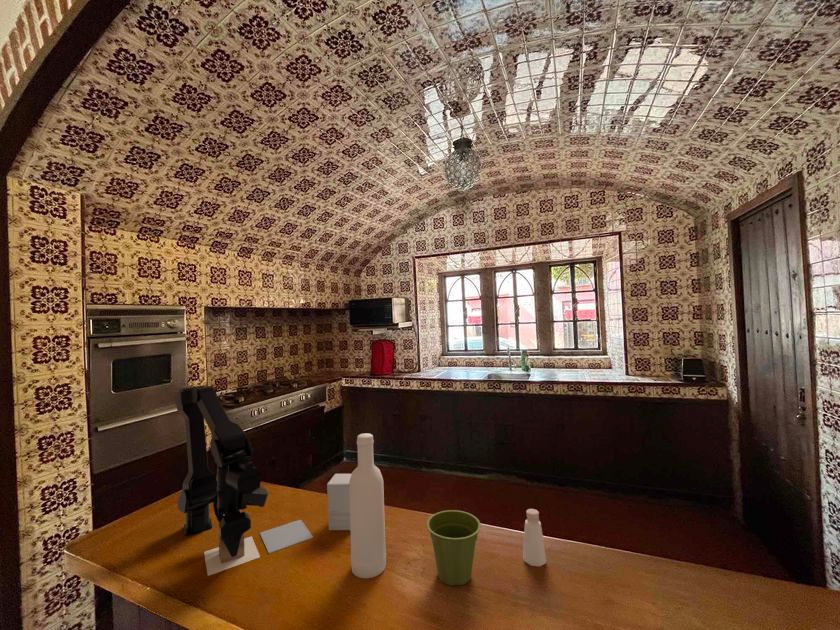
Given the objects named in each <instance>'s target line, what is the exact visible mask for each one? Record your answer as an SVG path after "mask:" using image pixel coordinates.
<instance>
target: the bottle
mask: <svg viewBox="0 0 840 630" xmlns="http://www.w3.org/2000/svg"><path fill="white" fill-rule="evenodd" d="M356 438H357V439H356V445H357V467H356V468H355V469H354V470H353V471H352V472H351V474H352V475H351V478H350V482H349V489H350V526H351V530H350V563H351V572H352V574H354V576H356V577H357V578H359V579H372V578H374V577H375V578H376V577H377V576H379V575H381V574H382V573H383V572H384V571H385V569H386V566H387V551H386V525H385V519H386V518H385V497H384V496H385V495H384V494H385V493H384V490H385V488H384V487H385V485H384V478H383V475H382V472H381V470H380V469H379V467H377V466H376V464H375V463H374V462H375V461H374V459H375V458H374V443H375V440H374V435H373V434H371V433H370V432H369V433H365V432H364V433H360V434H358V435H357V437H356Z"/></svg>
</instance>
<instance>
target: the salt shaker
mask: <svg viewBox="0 0 840 630" xmlns="http://www.w3.org/2000/svg"><path fill="white" fill-rule="evenodd" d="M525 512H526V519H525V521H524V530H523V531H524V533H523V534H524V535H523V547H522V548H523V549H522V550H523V551H522V557H523V562H525V563H527V564H528V565H529V566H530V567H531V566H532V567H542V566H543V565H545V564H547V556H546V550H545V542H544V537H543V536H544V535H543V529H542V523H541V521H540V516H539V514H540V512H539V511H538V510H537V509H534V508H528V509H527V510H526V511H525Z"/></svg>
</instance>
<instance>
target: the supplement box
mask: <svg viewBox="0 0 840 630" xmlns="http://www.w3.org/2000/svg"><path fill="white" fill-rule="evenodd" d="M351 475H352V473H334V475H333V476H332V477H331V479H330V480H329V481H328V482H327V484H326V491H327V494H326V495H327V496H326V497H327V519H328V521H327V522H328V523H327V524H328V531H351V526H350V489H349V482H350V478H351Z"/></svg>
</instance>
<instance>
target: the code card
mask: <svg viewBox="0 0 840 630" xmlns="http://www.w3.org/2000/svg"><path fill="white" fill-rule="evenodd" d="M203 554H204V561H205V567H206V574H207V577H209V576H212V575H215V574H218V573H221V572H223V571H227V570H228V569H231V568H233V567H237V566H239V565H242V564H245V563H248V562H250V561H252V560H256V559H259V558H260V557H261V555H260V553H259V550H258V547H257V546H256V543H255V541H254V539H253V536H248V537H244V554H245V555H244V556H242V557H239V558H236V559H233V560H230V561H227V562H224V563H222V564H221V560H220V555H219V546H218V547H214V548H212V549H209V550H206V551H203Z"/></svg>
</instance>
